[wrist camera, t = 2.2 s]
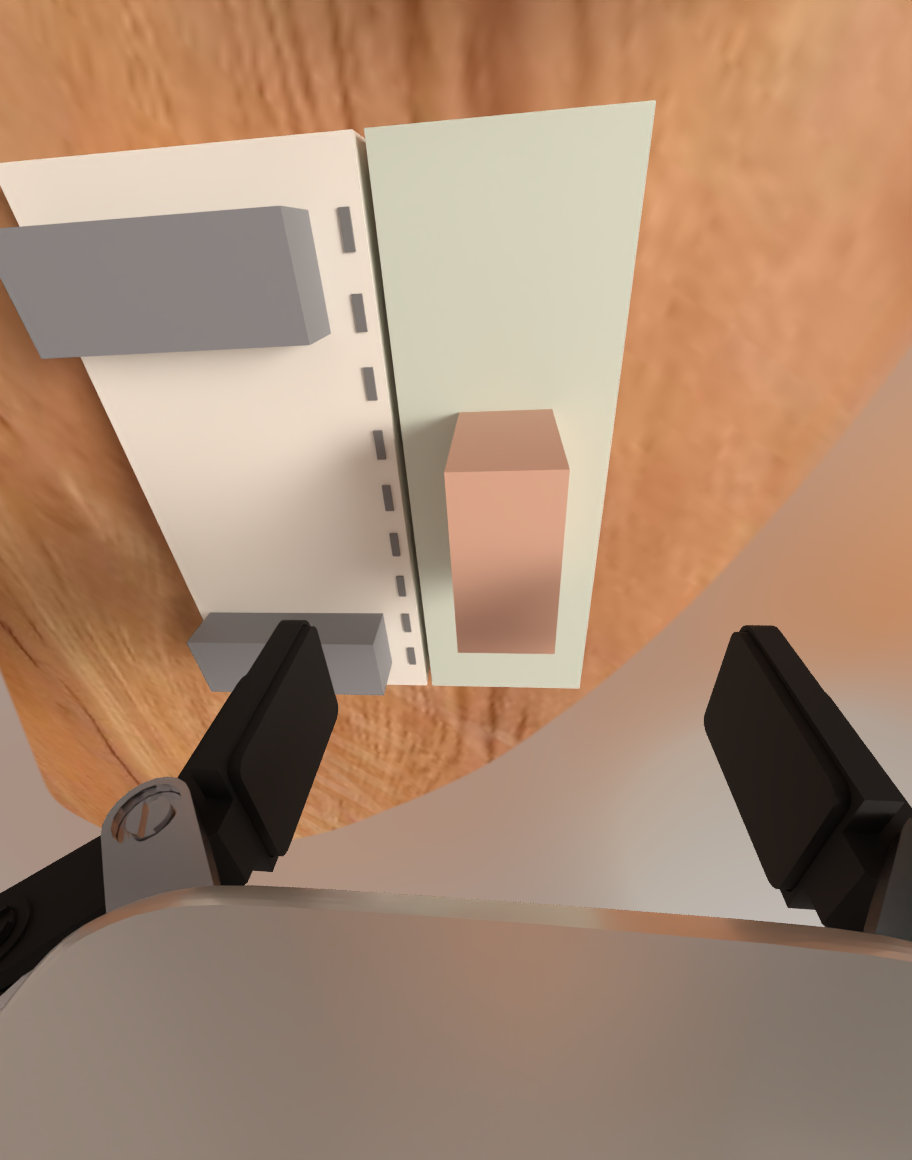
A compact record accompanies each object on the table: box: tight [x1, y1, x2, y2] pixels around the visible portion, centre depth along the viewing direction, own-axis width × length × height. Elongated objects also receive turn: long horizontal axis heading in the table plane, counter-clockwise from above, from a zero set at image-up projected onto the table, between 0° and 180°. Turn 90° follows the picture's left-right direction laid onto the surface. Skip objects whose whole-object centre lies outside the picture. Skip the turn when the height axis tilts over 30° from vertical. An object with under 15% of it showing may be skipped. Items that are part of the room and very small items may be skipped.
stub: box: [364, 100, 656, 688], centre depth 16 cm, size 20×7×6 cm, turn 3°
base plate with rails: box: [0, 129, 430, 695], centre depth 18 cm, size 20×10×4 cm, turn 3°
